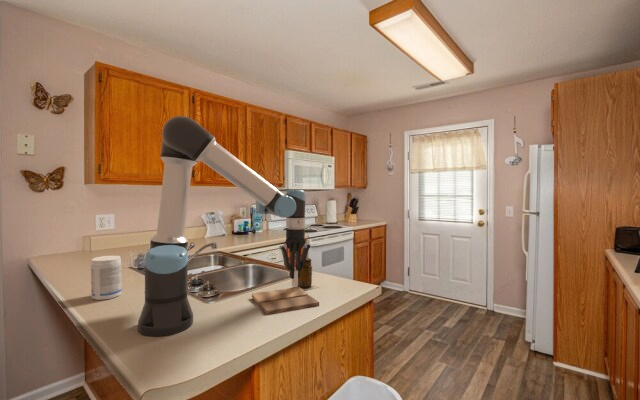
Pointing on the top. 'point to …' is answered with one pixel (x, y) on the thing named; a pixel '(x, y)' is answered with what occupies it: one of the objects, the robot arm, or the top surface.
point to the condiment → (306, 276)
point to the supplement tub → (106, 277)
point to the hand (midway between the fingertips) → (294, 285)
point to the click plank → (278, 295)
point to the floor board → (288, 304)
